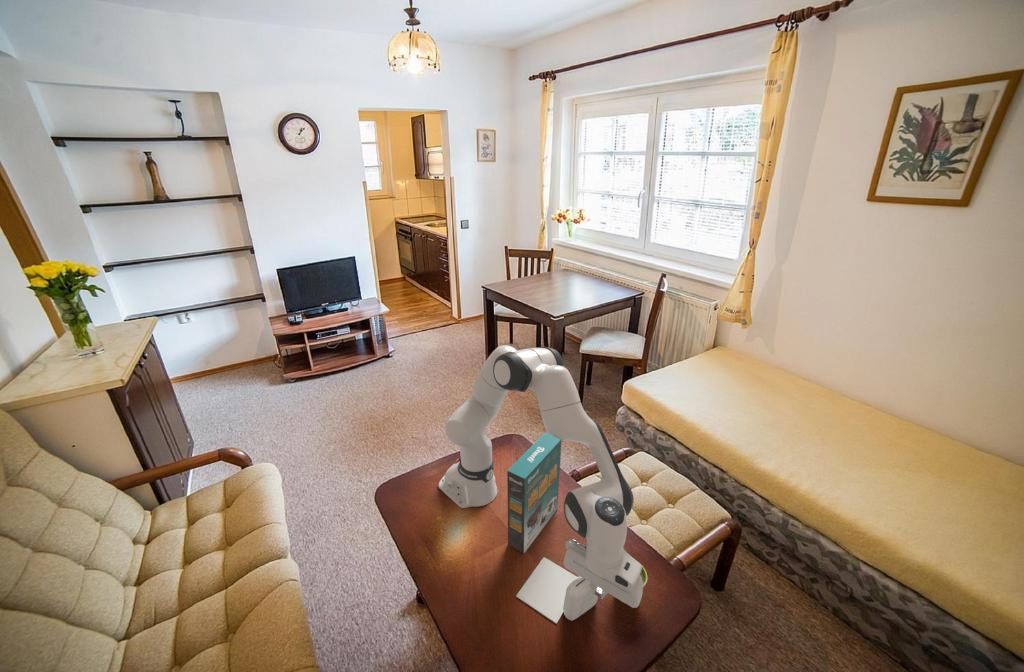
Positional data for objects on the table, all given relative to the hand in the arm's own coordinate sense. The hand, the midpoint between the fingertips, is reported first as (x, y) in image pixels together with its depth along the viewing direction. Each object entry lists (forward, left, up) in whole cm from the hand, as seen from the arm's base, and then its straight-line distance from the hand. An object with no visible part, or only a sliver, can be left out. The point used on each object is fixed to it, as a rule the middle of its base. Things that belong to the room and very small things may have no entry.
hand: (599, 594), depth 108 cm
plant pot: (+4, +11, -10) cm, 15 cm away
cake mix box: (-30, +16, -10) cm, 35 cm away
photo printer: (-5, 0, -9) cm, 11 cm away
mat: (-14, 0, -9) cm, 17 cm away
